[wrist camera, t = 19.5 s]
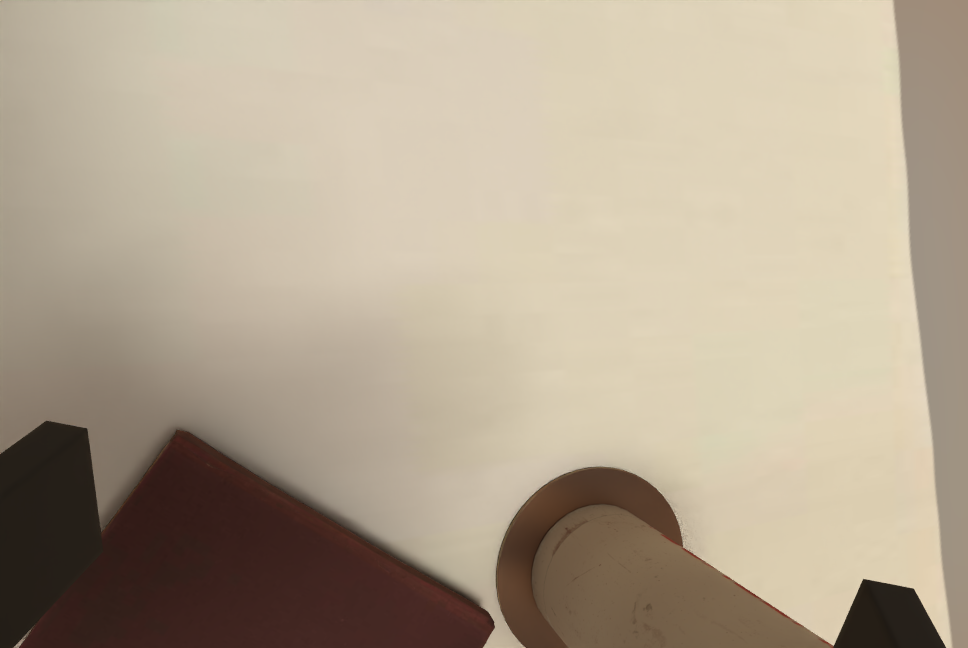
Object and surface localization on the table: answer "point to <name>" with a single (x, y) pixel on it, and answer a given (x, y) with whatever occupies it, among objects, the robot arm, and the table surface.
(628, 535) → the thermos bottle
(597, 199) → the table surface
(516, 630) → the coaster
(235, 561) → the book
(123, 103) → the table surface
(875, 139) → the table surface
